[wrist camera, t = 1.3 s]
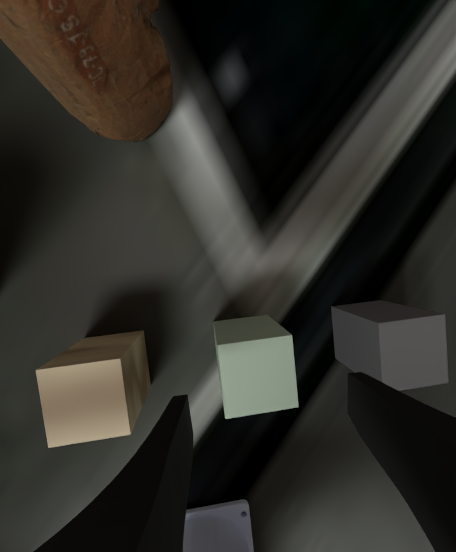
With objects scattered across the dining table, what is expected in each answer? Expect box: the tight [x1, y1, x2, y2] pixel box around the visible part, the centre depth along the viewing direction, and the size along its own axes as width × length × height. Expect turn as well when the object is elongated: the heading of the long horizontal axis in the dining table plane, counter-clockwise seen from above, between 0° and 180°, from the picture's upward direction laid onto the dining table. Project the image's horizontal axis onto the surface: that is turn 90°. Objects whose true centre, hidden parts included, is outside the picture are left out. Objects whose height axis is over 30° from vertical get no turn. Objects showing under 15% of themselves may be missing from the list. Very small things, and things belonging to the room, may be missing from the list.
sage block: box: [213, 315, 299, 419], centre depth 19 cm, size 4×4×6 cm
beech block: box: [36, 330, 151, 448], centre depth 18 cm, size 4×4×6 cm
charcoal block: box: [331, 300, 448, 391], centre depth 20 cm, size 4×4×6 cm
